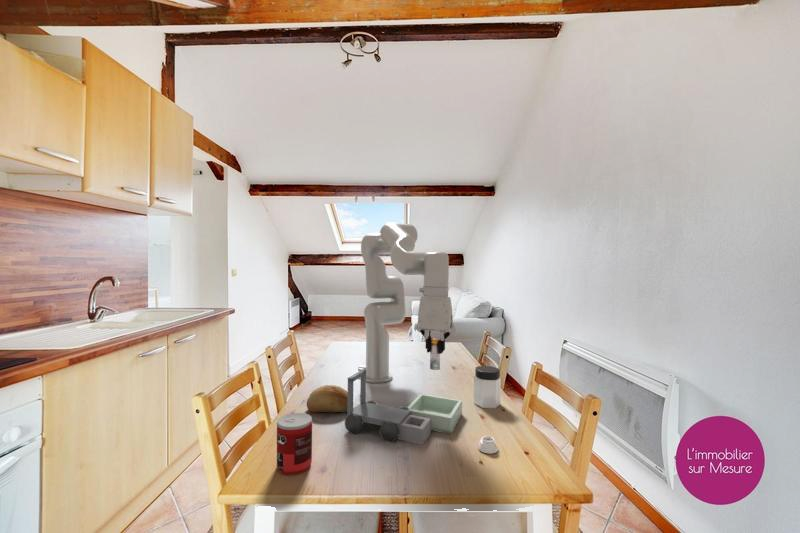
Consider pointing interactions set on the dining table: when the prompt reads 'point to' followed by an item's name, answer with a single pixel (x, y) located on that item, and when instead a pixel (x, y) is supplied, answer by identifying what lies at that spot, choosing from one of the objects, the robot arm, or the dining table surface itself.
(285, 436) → the canned food
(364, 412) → the trolley
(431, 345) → the stop pin
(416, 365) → the dining table surface
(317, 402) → the bread roll
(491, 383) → the jar
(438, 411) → the tray
